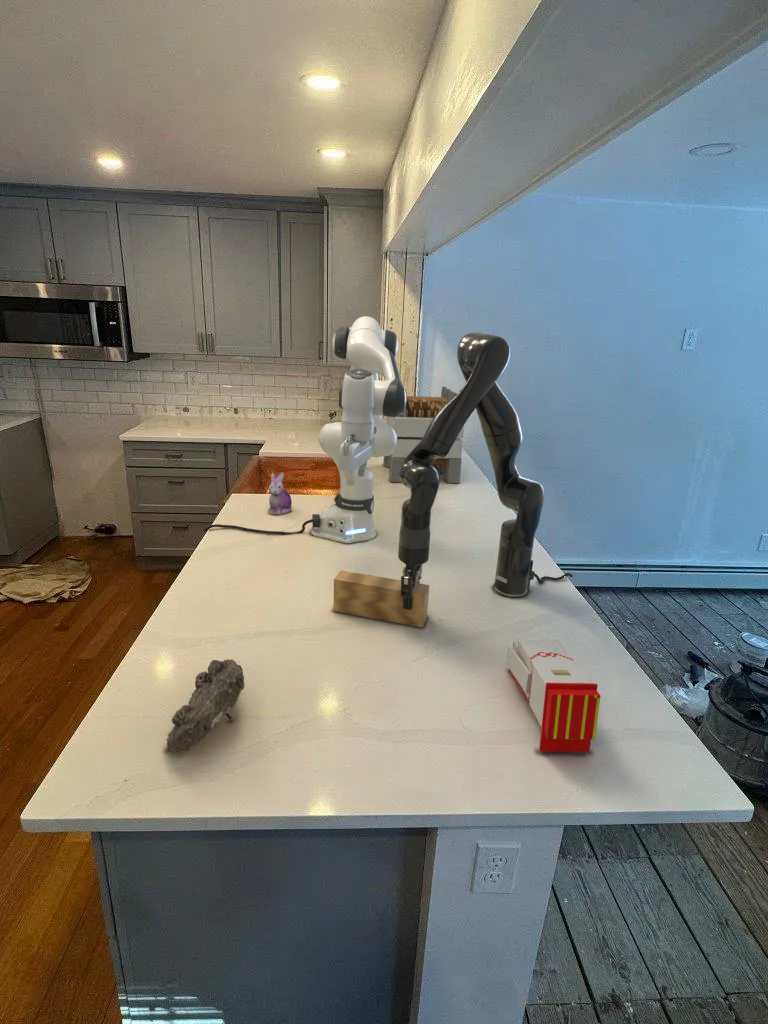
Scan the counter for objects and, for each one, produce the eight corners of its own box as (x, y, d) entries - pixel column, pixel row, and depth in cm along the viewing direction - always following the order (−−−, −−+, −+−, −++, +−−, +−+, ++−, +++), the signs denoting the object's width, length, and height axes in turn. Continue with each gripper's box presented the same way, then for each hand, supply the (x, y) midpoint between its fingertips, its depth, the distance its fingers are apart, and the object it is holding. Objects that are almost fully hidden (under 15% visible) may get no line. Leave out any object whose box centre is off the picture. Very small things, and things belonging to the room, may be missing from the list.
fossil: (192, 660, 117) (244, 628, 112) (224, 691, 120) (276, 661, 115) (142, 746, 98) (202, 712, 93) (182, 779, 101) (242, 748, 96)
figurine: (272, 516, 210) (271, 477, 205) (264, 508, 219) (263, 470, 213) (296, 513, 214) (296, 475, 209) (287, 505, 223) (287, 468, 218)
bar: (333, 611, 147) (333, 579, 144) (340, 601, 152) (341, 570, 149) (422, 627, 142) (424, 594, 138) (426, 617, 147) (429, 584, 143)
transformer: (382, 463, 289) (386, 382, 275) (445, 464, 293) (451, 384, 279) (390, 482, 257) (394, 392, 243) (460, 483, 261) (468, 394, 247)
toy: (554, 622, 128) (610, 691, 98) (548, 677, 130) (601, 759, 101) (501, 621, 127) (541, 690, 98) (496, 676, 130) (534, 758, 101)
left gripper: (356, 440, 143) (354, 492, 148) (379, 426, 162) (377, 472, 167) (332, 438, 145) (332, 489, 150) (358, 424, 164) (356, 470, 168)
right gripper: (423, 555, 130) (418, 619, 136) (435, 533, 143) (430, 593, 149) (391, 550, 132) (388, 614, 138) (406, 529, 145) (402, 588, 151)
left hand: (356, 480), depth 158 cm, fingers open, 8 cm apart
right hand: (410, 602), depth 144 cm, fingers closed on bar, 5 cm apart
